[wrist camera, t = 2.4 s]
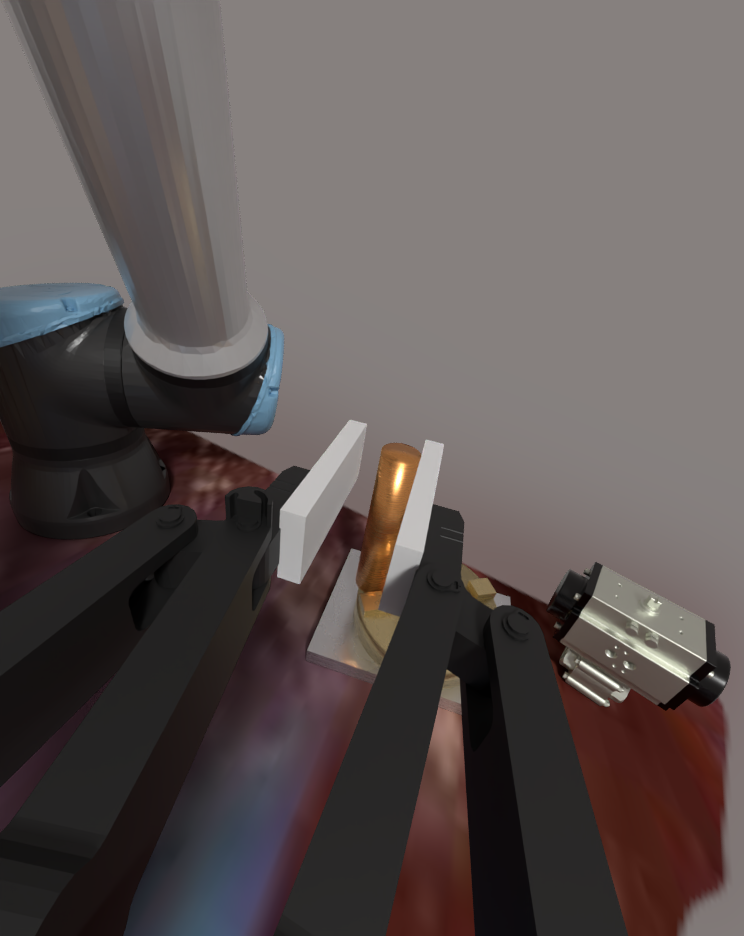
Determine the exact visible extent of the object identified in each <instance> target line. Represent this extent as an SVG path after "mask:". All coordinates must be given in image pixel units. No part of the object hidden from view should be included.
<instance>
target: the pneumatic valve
mask: <svg viewBox="0 0 744 936" xmlns="http://www.w3.org/2000/svg"><path fill="white" fill-rule="evenodd" d="M583 573H584V574H585V575H586V577H583V576H581V575H580V574H578V573H576V572H574V571H572V570H571V569H570V570H568V572H567V573H566V574H565V576H564V578H563V579H562V581H561V582H560V584H559V586H558V587H557V589H556V591H555V593H554V595H553V596H552V598H551V600H550V602H549V604H548V607H547V609H546V611H547V612H548V613H550V614H551V615H553V616H555V617H556V618H558V619H559V620H560V621H559V622H556V623H555V625H554V627H555V628H556V631H555V633H554V635H553V638H554V639H556V640H558V641H559V642H561V643H562V644H564V645H565V646H566V648H565V650H564V651H563V653H562V655H561V658H560V661H559V663H560V665H562V666H563V667H565V668H566V669H568V670H569V671H568V673H567V672H566V671H565V672H564V674H563V676H562V677H563V678H564V679H565V682H566V683H568V684H569V685H571V686H572V687H573V688H575V689H576V690H578V691H579V692H581V693H582V694H584V695H585V696H586V697H588V698H589V699H591V700H592V701H594V702H595V703H597V704H598V705H599V706H602V705H603V706H605V707H607V706H608V707H609V705H610V703H609V700H607V698H608V697H609V698H611V699H612V700H614V701H615V702H618V703H621V702H623V701H624V699H625V698H626V697H627V695H628V693H629V691H630V688H631V689H633V690H635V691H636V692H638V693H639V694H641V695H642V696H644V697H645V698H647V699H648V700H650V701H651V702H653V703H655V704H656V705H658V706H659V707H661V708H662V709H664V710H665V711H666V710H667V709H669V708H671V709H673V710H675V709H676V708H677V707H678V706H679V705H681V704H682V703H683V702H684V701H685V700H687V699H688V700H690V701H691V702H693V703H694V704H696V705H698V706H701V707H704V706H708V705H710V704H711V703H713V702H714V701H715V700H716V699H717V698H718V697H719V695H720V694H721V693H722V691H723V690H724V688H725V686H726V684H727V682H728V679H729V675H730V668H731V667H730V661H729V659H728V657H727V656H726V655H724V654H722V653H720V652H719V651H717V650H716V643H715V626H714V624H712V623H710V622H708V621H707V620H705V619H703V618H701V617H699V616H697V615H695V614H693V613H691V612H690V611H688V610H686V609H684V608H682V607H680V606H678V605H676V604H674V603H673V602H671V601H669V600H667V599H665V598H663V597H661V596H659V595H657V594H656V593H654V592H652V591H650V590H648V589H646V588H644V587H642V586H640V585H639V584H637V583H635V582H633V581H631V580H629V579H627V578H625V577H623V576H621V575H620V574H618V573H616V572H614V571H612V570H610V569H608V568H606V567H605V566H603V565H601V564H599V563H597V562H595V563H594V565H593V566H592V568H591V569H590V570H589V569H587V568H586V569H585V571H584V572H583Z"/></svg>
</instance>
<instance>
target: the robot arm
mask: <svg viewBox="0 0 744 936" xmlns="http://www.w3.org/2000/svg"><path fill="white" fill-rule="evenodd" d="M1 1H2V3H3V6H4V8H5V10H6V13H7V15H8V17H9V20H10V22H11V24H12V26H13V29H14V31H15V33H16V36H17V38H18V40H19V42H20V45H21V47H22V49H23V52H24V54H25V56H26V59H27V61H28V63H29V66H30V67H31V70H32V72H33V75H34V77H35V79H36V82H37V84H38V86H39V88H40V91H41V93H42V95H43V98H44V100H45V102H46V105H47V107H48V109H49V111H50V114H51V116H52V118H53V120H54V123H55V125H56V128H57V130H58V132H59V134H60V137H61V139H62V141H63V143H64V146H65V148H66V150H67V153H68V155H69V157H70V160H71V162H72V164H73V167H74V169H75V171H76V173H77V176H78V178H79V180H80V183H81V185H82V187H83V189H84V192H85V194H86V196H87V199H88V201H89V203H90V206H91V208H92V210H93V213H94V215H95V217H96V219H97V222H98V224H99V226H100V229H101V231H102V233H103V235H104V238H105V240H106V242H107V245H108V247H109V249H110V251H111V254H112V256H113V258H114V261H115V263H116V265H117V268H118V270H119V272H120V275H121V277H122V279H123V281H124V284H125V286H126V288H127V291H128V293H129V295H130V297H131V300H132V302H131V303H130V305H129V307H128V308H125V307H123V306H122V304H123V303H124V300H123V298H121V296H120V294H119V292H118V291H117V290H116V289H115V288H113V287H111V286H104V285H100V284H90V283H47V284H30V285H20V286H11V287H3V288H0V420H1V423H2V425H3V428H4V430H5V433H6V435H7V437H8V440H9V442H10V445H11V447H12V450H13V461H12V476H11V490H10V495H9V499H10V504H11V507H12V509H13V511H14V514H15V516H16V518H17V520H18V522H19V524H20V525H21V526H22V527H23V528H25V529H26V530H28V531H30V532H32V533H34V534H36V535H40V536H43V537H48V538H55V539H83V538H91V537H97V536H102V535H106V534H110V533H114V532H117V531H120V530H123V529H124V530H123V531H121V532H120V533H118V534H116V535H115V536H113V537H112V538H110V539H109V540H107V541H106V542H104V543H103V544H101V545H100V546H98V547H97V548H95V549H94V550H92V551H91V552H89V553H88V554H86V555H85V556H83V557H82V558H80V559H79V560H77V561H76V562H74V563H73V564H71V565H70V566H68V567H67V568H65V569H64V570H62V571H61V572H59V573H57V574H56V575H54V576H53V577H51V578H50V579H48V580H47V581H45V582H44V583H42V584H41V585H39V586H38V587H36V588H35V589H33V590H32V591H30V592H29V593H27V594H26V595H24V596H23V597H21V598H20V599H18V600H17V601H15V602H14V603H12V604H11V605H9V606H8V607H6V608H5V609H3V610H2V611H0V787H1V786H2V785H3V784H4V783H5V782H6V781H7V780H8V779H9V778H10V777H11V776H12V775H13V774H14V773H15V772H16V771H17V770H18V769H19V768H20V767H21V766H22V765H23V764H24V763H25V762H26V761H27V760H28V759H29V758H30V757H31V756H32V755H33V754H34V753H35V752H36V751H37V750H38V749H39V748H40V747H41V746H42V745H43V744H44V743H45V742H46V741H47V740H48V739H49V738H50V737H51V736H52V735H53V734H54V733H55V732H56V731H57V730H59V729H60V728H61V727H62V726H63V725H64V724H65V723H66V722H67V721H68V720H69V719H70V718H71V717H72V716H73V715H74V714H75V713H76V712H77V711H78V710H79V709H80V708H81V707H82V706H83V705H84V704H85V703H86V702H87V701H88V700H89V699H90V698H91V697H92V696H93V695H94V694H95V693H96V692H97V691H98V690H99V689H100V688H101V687H102V686H103V685H104V684H105V683H106V682H107V681H108V680H109V679H110V678H111V677H112V676H113V675H114V674H115V673H116V672H117V671H118V672H117V673H116V675H115V676H114V677H113V679H112V680H111V682H110V683H109V684H108V686H107V687H106V689H105V690H104V692H103V693H102V694H101V696H100V697H99V699H98V700H97V701H96V703H95V704H94V706H93V707H92V708H91V710H90V711H89V713H88V714H87V715H86V717H85V718H84V720H83V721H82V723H81V724H80V725H79V727H78V728H77V730H76V731H75V732H74V734H73V735H72V737H71V738H70V739H69V741H68V742H67V744H66V745H65V746H64V748H63V749H62V751H61V752H60V753H59V755H58V756H57V758H56V759H55V761H54V762H53V763H52V765H51V766H50V768H49V769H48V770H47V772H46V773H45V775H44V776H43V777H42V779H41V780H40V782H39V783H38V784H37V786H36V787H35V789H34V790H33V792H32V793H31V794H30V796H29V797H28V799H27V800H26V801H25V803H24V804H23V806H22V807H21V808H20V810H19V811H18V813H17V814H16V815H15V817H14V818H13V819H12V820H11V822H10V823H9V824H8V825H7V827H6V828H5V829H4V830H3V831H2V832H1V833H0V936H123V934H124V931H125V928H126V924H127V919H128V915H129V910H130V906H131V902H132V899H133V896H134V894H135V891H136V889H137V886H138V884H139V882H140V879H141V877H142V875H143V873H144V870H145V868H146V866H147V864H148V861H149V859H150V857H151V855H152V852H153V850H154V848H155V846H156V843H157V841H158V839H159V837H160V834H161V832H162V830H163V827H164V825H165V823H166V821H167V818H168V816H169V814H170V812H171V809H172V807H173V805H174V803H175V800H176V798H177V796H178V794H179V791H180V789H181V787H182V785H183V782H184V780H185V778H186V776H187V773H188V771H189V769H190V767H191V764H192V762H193V760H194V758H195V755H196V753H197V751H198V749H199V746H200V744H201V742H202V740H203V737H204V735H205V733H206V731H207V728H208V726H209V724H210V722H211V719H212V717H213V715H214V713H215V710H216V708H217V706H218V704H219V701H220V699H221V697H222V695H223V692H224V690H225V688H226V686H227V683H228V681H229V679H230V677H231V674H232V672H233V670H234V668H235V665H236V663H237V661H238V659H239V656H240V654H241V652H242V649H243V647H244V645H245V643H246V640H247V638H248V636H249V634H250V631H251V629H252V627H253V625H254V622H255V620H256V618H257V616H258V613H259V611H260V609H261V607H262V604H263V602H264V600H265V598H266V595H267V593H268V591H269V588H270V583H271V575H272V574H273V572H274V571H275V569H276V567H277V566H278V573H277V577H279V578H282V579H285V580H288V581H291V582H294V583H297V584H300V583H301V581H302V579H303V578H304V576H305V574H306V572H307V570H308V568H309V567H310V565H311V563H312V561H313V559H314V557H315V556H316V554H317V552H318V550H319V548H320V546H321V545H322V543H323V541H324V539H325V537H326V535H327V533H328V532H329V530H330V528H331V526H332V524H333V522H334V521H335V519H336V517H337V515H338V513H339V511H340V510H341V508H342V506H343V504H344V502H345V500H346V499H347V497H348V495H349V493H350V491H351V489H352V487H353V485H354V484H355V482H356V480H357V478H358V474H359V468H360V462H361V457H362V451H363V445H364V440H365V434H366V428H367V424H365V423H361V422H357V421H353V420H349V422H348V423H347V424H346V426H345V427H344V428H343V429H342V431H341V432H340V433H339V434H338V436H337V437H336V438H335V440H334V441H333V442H332V444H331V445H330V446H329V447H328V449H327V450H326V452H324V454H323V455H322V456H321V458H320V459H319V460H318V462H317V463H316V464H315V465H314V467H313V468H312V469H311V470H307V469H304V468H300V467H297V466H293V467H291V468H289V469H286V470H284V471H282V473H281V474H280V475H279V476H278V477H277V478H276V479H275V481H273V483H272V484H271V485H270V487H268V488H267V489H266V490H264V489H261V488H258V487H241V488H237V489H235V490H232V491H230V492H229V493H228V494H227V495H225V505H226V520H224V521H212V520H197V516H196V513H195V511H194V510H193V509H191V508H190V507H188V506H184V505H167V506H163V507H161V506H162V505H163V504H164V503H165V501H166V500H167V498H168V496H169V493H170V482H169V476H168V471H167V468H166V466H165V465H164V463H163V462H162V460H161V459H160V458H159V456H158V454H157V452H156V450H155V448H154V447H153V445H152V444H151V442H150V440H149V439H148V437H147V436H146V434H145V431H144V428H153V429H167V430H182V431H196V432H211V433H225V434H231V435H233V436H240V435H243V434H244V435H260V434H263V433H266V432H267V431H268V430H269V429H270V428H271V426H272V424H273V421H274V417H275V412H276V407H277V401H278V389H279V386H280V380H281V373H282V364H283V353H284V335H283V332H282V331H281V330H280V329H279V328H276V327H273V326H272V325H270V324H267V320H266V316H265V313H264V311H263V309H262V307H261V306H260V304H259V303H258V302H257V301H256V300H255V299H254V297H253V296H251V295H250V294H249V293H248V292H247V283H246V273H245V262H244V251H243V240H242V230H241V220H240V209H239V199H238V187H237V177H236V166H235V155H234V145H233V135H232V123H231V114H230V102H229V91H228V82H227V71H226V59H225V50H224V38H223V28H222V17H221V7H220V0H1ZM443 447H444V444H441V443H437V442H434V441H430V440H426V442H425V445H424V449H423V452H422V455H421V459H420V462H419V466H418V469H417V472H416V476H415V479H414V483H413V486H412V490H411V493H410V496H409V500H408V503H407V507H406V510H405V514H404V517H403V520H402V524H401V527H400V531H399V534H398V537H397V541H396V544H395V548H394V552H393V556H392V559H391V563H390V567H389V570H388V574H387V578H386V582H385V585H384V589H383V593H382V597H381V600H380V604H379V608H378V610H380V611H383V612H386V613H389V614H393V615H396V616H399V617H400V618H399V620H398V623H397V626H396V628H395V631H394V633H393V636H392V638H391V641H390V643H389V646H388V648H387V651H386V653H385V656H384V658H383V661H382V663H381V666H380V668H379V671H378V674H377V676H376V679H375V681H374V684H373V686H372V689H371V691H370V694H369V696H368V699H367V701H366V704H365V706H364V709H363V711H362V714H361V716H360V719H359V721H358V724H357V727H356V729H355V732H354V734H353V737H352V739H351V742H350V744H349V747H348V749H347V752H346V754H345V757H344V759H343V762H342V764H341V767H340V769H339V772H338V775H337V777H336V780H335V782H334V785H333V787H332V790H331V792H330V795H329V797H328V800H327V802H326V805H325V807H324V810H323V812H322V815H321V817H320V820H319V822H318V825H317V828H316V830H315V833H314V835H313V838H312V840H311V843H310V845H309V848H308V850H307V853H306V855H305V858H304V860H303V863H302V865H301V868H300V870H299V873H298V876H297V878H296V881H295V883H294V886H293V888H292V891H291V893H290V896H289V898H288V901H287V903H286V906H285V908H284V911H283V913H282V916H281V918H280V921H279V923H278V926H277V928H276V931H275V933H274V935H273V936H386V931H387V927H388V923H389V918H390V914H391V910H392V905H393V901H394V897H395V892H396V888H397V884H398V879H399V875H400V871H401V866H402V862H403V858H404V853H405V849H406V844H407V840H408V836H409V831H410V827H411V823H412V818H413V814H414V810H415V805H416V801H417V797H418V792H419V788H420V784H421V779H422V775H423V771H424V766H425V762H426V758H427V753H428V749H429V744H430V740H431V736H432V731H433V727H434V723H435V718H436V714H437V710H438V705H439V701H440V697H441V692H442V688H443V684H444V679H445V675H446V671H447V670H448V671H450V672H451V673H453V674H454V675H455V676H457V677H458V678H460V694H461V711H462V727H463V744H464V760H465V776H466V793H467V809H468V826H469V842H470V859H471V875H472V891H473V908H474V924H475V936H628V934H627V930H626V927H625V923H624V920H623V916H622V913H621V909H620V905H619V902H618V898H617V895H616V891H615V888H614V884H613V881H612V877H611V873H610V870H609V866H608V863H607V859H606V856H605V852H604V849H603V845H602V841H601V838H600V834H599V831H598V827H597V824H596V820H595V816H594V813H593V809H592V806H591V802H590V799H589V795H588V792H587V788H586V784H585V781H584V777H583V774H582V770H581V767H580V763H579V760H578V756H577V752H576V749H575V745H574V742H573V738H572V735H571V731H570V727H569V724H568V720H567V717H566V713H565V710H564V706H563V703H562V699H561V695H560V692H559V688H558V685H557V681H556V678H555V674H554V671H553V667H552V663H551V660H550V656H549V653H548V649H547V646H546V642H545V638H544V635H543V632H542V630H541V628H540V626H539V624H538V623H537V622H536V621H535V620H534V618H533V617H532V616H531V615H529V614H528V613H526V612H525V611H523V610H522V609H520V608H517V607H514V606H511V605H501V606H498V607H496V608H495V609H494V610H493V609H491V608H489V607H488V606H486V605H484V604H483V603H481V602H480V601H478V600H477V599H475V598H474V597H473V596H472V595H471V594H470V593H469V592H468V591H467V590H466V588H465V587H464V583H463V581H462V579H461V566H462V550H463V533H464V521H463V519H462V517H461V515H460V513H459V511H455V510H452V509H448V508H445V507H441V506H438V505H434V504H433V500H434V495H435V489H436V484H437V479H438V474H439V468H440V463H441V458H442V452H443Z"/></svg>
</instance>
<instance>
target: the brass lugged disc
mask: <svg viewBox="0 0 744 936" xmlns="http://www.w3.org/2000/svg"><path fill="white" fill-rule="evenodd" d="M420 459H421V453H420V452H419V451H418V450H417V449H415V448H413V447H411V446H409V445H406V444H402V443H390V444H386V445H384V446H383V447H382V451H381V456H380V461H379V465H378V470H377V475H376V480H375V485H374V490H373V495H372V500H371V505H370V510H369V515H368V519H367V524H366V529H365V534H364V539H363V544H362V549H361V554H360V559H359V564H358V569H357V573H356V579H355V580H356V584H357V586H358V587H359V588H358V593H357V597H356V602H355V608H354V622H355V627H356V631H357V634H358V637H359V639H360V641H361V643H362V645H363V647H364V649H365V650H366V652H367V653H368V655H369V656H370V657H371V658H372V659H373V660H374V662H375V663H376V664H377V665H379V666H381V663H382V661H383V658H384V656H385V653H386V651H387V648H388V646H389V643H390V641H391V638H392V636H393V633H394V631H395V628H396V626H397V623H398V620H399V618H400V617H399V616H396V615H393V614H389V613H386V612H383V611H380V610H378V608H379V604H380V600H381V597H382V593H383V589H384V585H385V582H386V578H387V574H388V570H389V567H390V563H391V559H392V556H393V552H394V548H395V544H396V541H397V537H398V534H399V531H400V527H401V524H402V520H403V517H404V514H405V510H406V507H407V503H408V500H409V496H410V493H411V490H412V486H413V483H414V479H415V476H416V472H417V469H418V466H419V462H420ZM461 579H462V581H463V583H464V587H465V588H466V590H467V591H468V592H469V593H470V594H471V595H472V596H473V597H474V598H475V599H477V600H478V601H480V602H481V603H483V604H484V605H486V606H488V607H489V608H491V609H493V610H494V609H495V608H496V607H497V606H496V604H495V601H494V599H493V598H494V597H495V595H496V593H497V592H496V591H495V589H494V588H493V586H492V585H491V583H490V582H489V580H488V579H487V578H482V579H480V578H479V577H478V576H477V575H476V574H475V573H473V572H472V571H471V570H470V569H469V568H467V567H466V566H465V565H463V564H462V566H461ZM458 685H460V678H458V677H457V676H455V675H454V674H453V673H451V672H450V671H448V670H447V671H446V675H445V679H444V684H443V688H442V689H446V688H452V687H455V686H458Z"/></svg>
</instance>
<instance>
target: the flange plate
mask: <svg viewBox="0 0 744 936" xmlns="http://www.w3.org/2000/svg"><path fill="white" fill-rule="evenodd" d="M360 554H361V551H358V550H355V549H352V548H351V551H350V553H349V555H348V557H347V560H346V562H345V564H344V567H343V569H342V571H341V573H340V576H339V578H338V580H337V583H336V585H335V587H334V590H333V592H332V594H331V596H330V599H329V601H328V603H327V606H326V608H325V610H324V612H323V615H322V617H321V619H320V622H319V624H318V626H317V629H316V631H315V633H314V635H313V638H312V640H311V642H310V645H309V647H308V649H307V654H306V661H309V662H312V663H315V664H318V665H320V666H323V667H326V668H329V669H332V670H335V671H337V672H340V673H343V674H346V675H349V676H352V677H354V678H357V679H360V680H363V681H366V682H369V683H372V684H374V681H375V679H376V676H377V674H378V671H379V668H380V666H379V665H377V664H376V663H375V662H374V660H373V659H372V658H371V657H370V656H369V655H368V653H367V652H366V650H365V649H364V647H363V645H362V643H361V641H360V639H359V637H358V634H357V631H356V627H355V622H354V608H355V602H356V597H357V593H358V588H359V587H358V586H357V584H356V580H355V579H356V573H357V569H358V564H359V559H360ZM493 599H494V601H495V604H496V606H497V607H498V606H501V605H511V603H510V597H508V596H505V595H502V594H499V593H496V595H495V597H494V598H493ZM438 707H440V708H443V709H446V710H448V711H451V712H454V713H457V714H460V715H462V711H461V694H460V685H458V686H455V687H452V688H446V689H442V692H441V697H440V701H439V705H438Z"/></svg>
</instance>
